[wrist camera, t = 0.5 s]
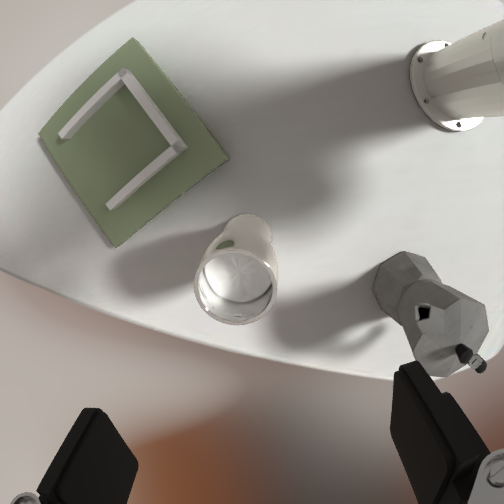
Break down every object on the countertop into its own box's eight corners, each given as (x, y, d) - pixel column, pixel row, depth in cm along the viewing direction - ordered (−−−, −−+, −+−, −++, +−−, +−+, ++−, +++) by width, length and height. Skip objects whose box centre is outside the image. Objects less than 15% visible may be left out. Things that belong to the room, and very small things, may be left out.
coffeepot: (347, 282, 40) (391, 367, 23) (393, 226, 38) (469, 280, 21) (416, 337, 42) (468, 417, 25) (457, 290, 40) (527, 355, 23)
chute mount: (138, 41, 32) (126, 32, 28) (229, 158, 36) (224, 159, 32) (46, 133, 36) (29, 133, 32) (122, 244, 40) (108, 253, 36)
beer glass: (209, 250, 40) (178, 305, 26) (233, 200, 38) (212, 230, 24) (259, 274, 40) (254, 340, 26) (285, 226, 38) (296, 271, 24)
